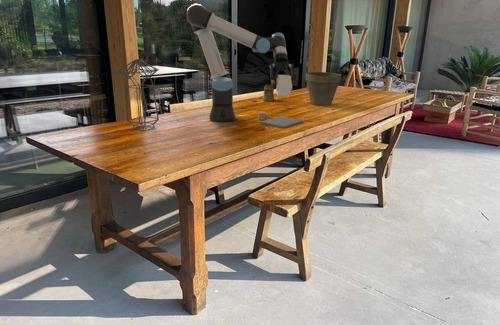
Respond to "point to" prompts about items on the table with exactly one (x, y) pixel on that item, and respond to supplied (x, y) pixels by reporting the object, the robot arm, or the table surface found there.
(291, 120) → the slate board
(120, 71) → the geometric lantern
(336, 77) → the plant pot
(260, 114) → the terracotta cube
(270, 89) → the utensil holder
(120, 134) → the table surface
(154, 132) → the table surface
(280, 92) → the grey cover
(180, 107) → the table surface
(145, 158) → the table surface
